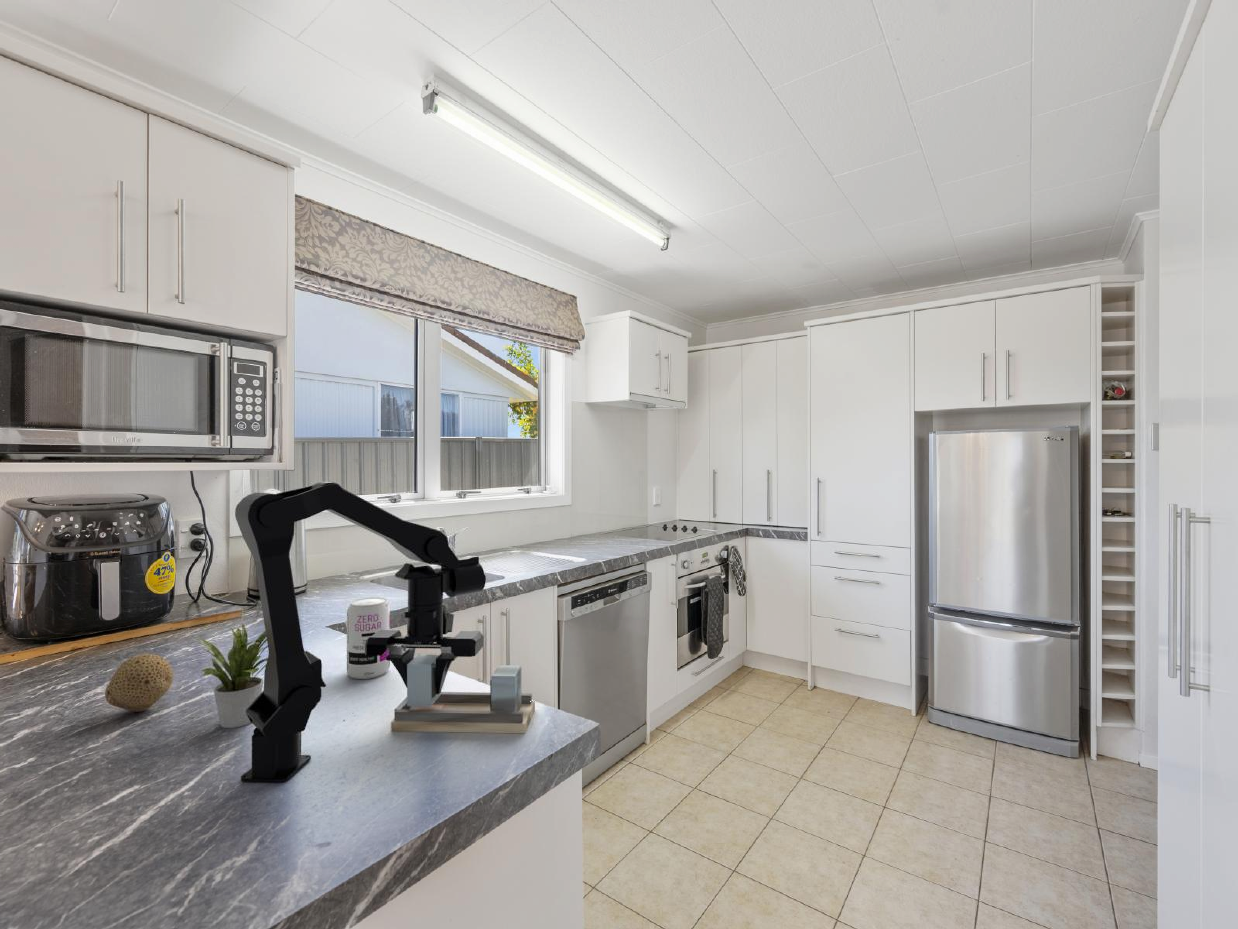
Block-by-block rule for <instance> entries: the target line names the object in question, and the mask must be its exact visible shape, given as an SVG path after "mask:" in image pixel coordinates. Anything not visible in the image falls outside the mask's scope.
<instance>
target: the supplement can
mask: <svg viewBox="0 0 1238 929" xmlns="http://www.w3.org/2000/svg"><path fill="white" fill-rule="evenodd" d="M387 600H388V599H386V598H385V597H364V598H359V599H355V600H354V599H353V600H352V601H351V602H350V603H349V606H348V608H347V610H346V674H347V675H348V676H350V677H351V678H352V679H356V680H367V679H374V678H378V677H381V676H383V675H384V674H386V673H387V671H389V669H390V667H391V661H387V660H386V656H388V650H387V651H386V652H385V653H384V654H383V655H382V656H372V655H365V643H366V640H367V639H368V638H369V637H370V636H372V635H374V634H375V633H377V632H378V631H380V630H391V606H390V605H389V603H388V601H387Z"/></svg>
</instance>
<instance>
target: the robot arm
mask: <svg viewBox="0 0 1238 929" xmlns="http://www.w3.org/2000/svg"><path fill="white" fill-rule="evenodd" d="M234 510H235V511H234V512H235V513H234V516H235V520H236V523H237V526H238V528H239V531H240V533H241V536H242V539H243V540H244V541H245V543H246V546H247V548H248V549H249V552H250V554H251V555H252V559H253V560H254V567H255V573H256V579H257V584H258V593H259V599H260V604H261V612H262V617H263V623H264V624H263V625H264V629H265V630H264V631H266V639H267V641H266V642H267V645H268V647H267V649H268V655H267V658H268V659H267V661H266V664H265V665H266V666H265V667H264V675H263V676H264V677H263V689H262V692H261V694H260V695H259V696H258V697H257V698H256V699H255V700H254V702H253V703H252V704H251V705H250V706H249V707H248V708H247V709H246V714H247V716H248V718H249V721H250V722H251V723H250V724H253V726H254V729H253V735H251V768H250V769H249V770H248V771H246V772H244V773H243V774H241V776H240V781H241V782H261V783H262V782H267V783H270V782H271V783H284V782H287V781H288V780H289V779H290V778H292V776H294V775H295V774H296V773H297V772H299V770H301V768H302V767H304V766H305V765H306V764H307V763H308V762H310V761H311V760H312V755H310V754H302V732H304V731H305V730H306V727H307V725H308V722H309V719H310V717H311V714H312V711H313V710H314V709H315V708H316V707H317V705H318V704H319V703H320V702H321V699H322V693H323V692H322V688H326V686H327V684H326V683H325V681H324V679H323V676H322V675H323V673H322V672H323V665H322V664H323V663H322V659H320V658H319V657H317V656H315V655H314V653H311V652H309V651H308V650H305V649H304V644H303V643H304V642H303V638H302V631H301V623H300V616H299V611H298V606H297V604H298V603H297V597H296V590H295V585H294V583H295V582H294V578H293V571H292V570H293V569H292V564H291V558H290V554H291V553H290V552H291V549H292V548H291V547H292V545H293V541H294V535H295V523H296V522H299V521H303V520H306V519H309V518H310V517H313V516H315V515H317V514H320V513H322V512H325V511H326V512H330V513H331V514H333V515H336V516H338V517H340V518H342V519H343V520H346V521H347V522H350V523H352V524H354V525H356V526H358V527H360V528H363V529H364V530H367V531H369V532H370V533H373V534H375V535H377V536H379V537H380V538H383V539H385V540H386V541H387V542H389V544H391V546H392V547H394V549H395V550H397V551H398V552H400V554H402V555H404V556H405V557H406V558H407V559H410V560H411V561H417V562H419V563H420V562H421V563H425V565H419V566H414V565H413V564H411V563H407V562H406V563H403V564H404V565H403V566H402V567H401V568H400V569H399V570H398V571H396V572H395V573H394V577H395V578H398V579H400V580H405V581H407V610H405V611H404V619H407V634H406V635H405V636H403V634H402V632H401V631H400V629H390V630H380V631H378V632H377V633H375V634H374V635H372V636H370V637H369V638H368V639H367V640H366V643H365V655H372V656H382V655H383V654H384V653H385V652H386V651H387V650H388V656H386V660H387V661H390V663H392V665H393V667H394V668H395V669H396V671H397V672H398V674H399V676H400V677H401V679H402V681H403V683H404V685H405V687H406V689H407V664H408V663H409V662H410V661H412V660H413V659H414V658H415V657H414V656H415V653H416V649H432V650H433V649H437V650H438V649H440V654H438V655H439V656H438V657H437V658H436V684H435V686H436V694H439V693H440V692H442V689H443V687H444V683H445V680H446V677H447V674H448V671H449V669H450V666H451V665H452V663H453V661H455V660H456V659H457V658H472V657H475V656H476V655H477V654H478V653H479V652H480V651H481V650H482V648H483V647H484V635H483V634H482V632H481V631H480V630H460V631H459V632H458V633H457V634H456V635H455V636H444V635H447V634H448V633H452V632H453V626H454V617H455V614H453V613H451V612H446V611H447V610H446V604H445V603H444V594H445V595H447V597H449V598H455V597H462V596H466V595H472V594H477V593H481V592H482V591H483V590H484V588H485V586H486V583H487V581H486V580H487V576H486V574H485V571H484V568H483V566H482V564H481V563H480V557H479V556H476V555H467V556H464V557H457V556H456V553H454V551H453V550H452V548H450V546H449V540H448V539H449V538H448V536H447V535H446V534H445V533H444V532H443V531H441V530H439V529H435V528H431V527H428V526H425V525H421V524H418V523H414V522H411V521H406V520H404V519H402V518H401V517H398V516H396V515H394V514H393V513H390V511H389V512H388V511H387V510H384V508H381V507H379V506H377V505H375V504H374V503H372V502H369V501H368V500H366V499H364V498H362V497H360V496H359V495H356V494H355V493H353V492H350V491H349V490H347V489H345V488H343V487H342V486H341V485H340V484H339V483H337V482H331V481H319V482H317V483H314V484H312V485H308V486H303V487H299V488H294V489H291V490H286V491H282V492H281V491H280V492H277V493H270V492H253V493H250V494H248V495H246V496H245V497H242V498H241V500H240V501H239V502H238V503H237V504H236V507H235V509H234ZM427 564H429V565H427ZM430 565H435V566H439V567H440V568H433V566H430Z"/></svg>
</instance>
